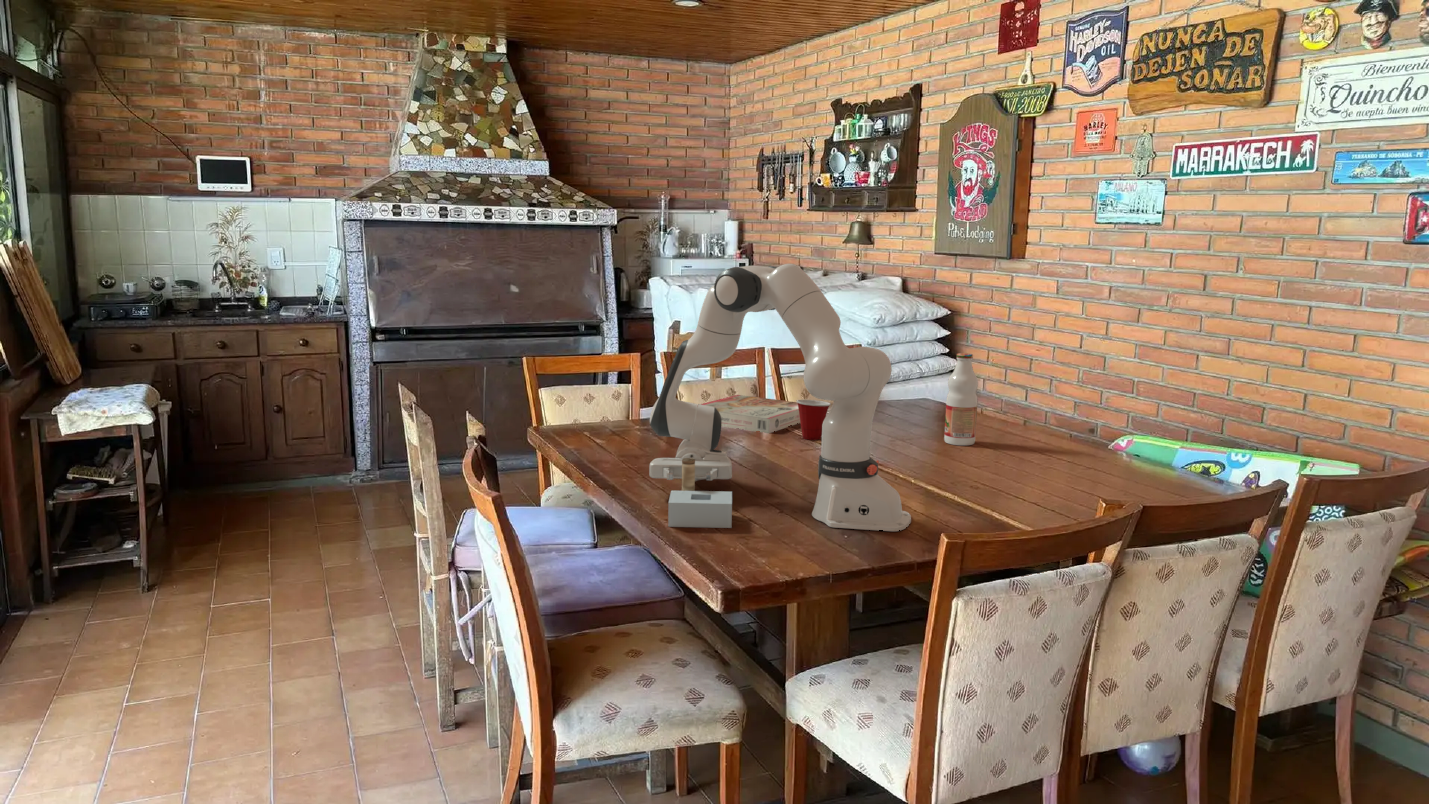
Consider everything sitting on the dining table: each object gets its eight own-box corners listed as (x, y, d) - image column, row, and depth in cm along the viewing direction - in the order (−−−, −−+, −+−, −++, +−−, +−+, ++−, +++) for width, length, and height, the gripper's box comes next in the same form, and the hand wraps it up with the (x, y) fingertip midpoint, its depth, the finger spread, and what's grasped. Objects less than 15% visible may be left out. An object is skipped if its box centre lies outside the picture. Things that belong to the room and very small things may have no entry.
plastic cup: (836, 439, 304) (838, 402, 302) (810, 443, 298) (811, 405, 296) (814, 433, 313) (815, 396, 311) (788, 436, 307) (789, 399, 305)
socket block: (731, 514, 223) (731, 491, 222) (731, 527, 213) (731, 503, 212) (671, 513, 223) (671, 490, 222) (668, 526, 213) (668, 502, 212)
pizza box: (737, 394, 354) (815, 404, 337) (737, 409, 355) (814, 419, 338) (687, 407, 328) (769, 418, 311) (687, 422, 329) (769, 435, 312)
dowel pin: (696, 508, 228) (697, 458, 226) (691, 511, 225) (692, 461, 223) (684, 506, 229) (685, 457, 227) (679, 510, 226) (679, 460, 224)
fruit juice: (962, 447, 296) (968, 356, 291) (937, 441, 303) (942, 353, 298) (981, 443, 301) (986, 354, 296) (956, 438, 309) (961, 351, 304)
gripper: (650, 450, 242) (645, 463, 229) (732, 451, 242) (732, 464, 228) (650, 474, 243) (645, 489, 230) (731, 475, 243) (731, 490, 229)
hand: (689, 476), depth 229 cm, fingers open, 8 cm apart
